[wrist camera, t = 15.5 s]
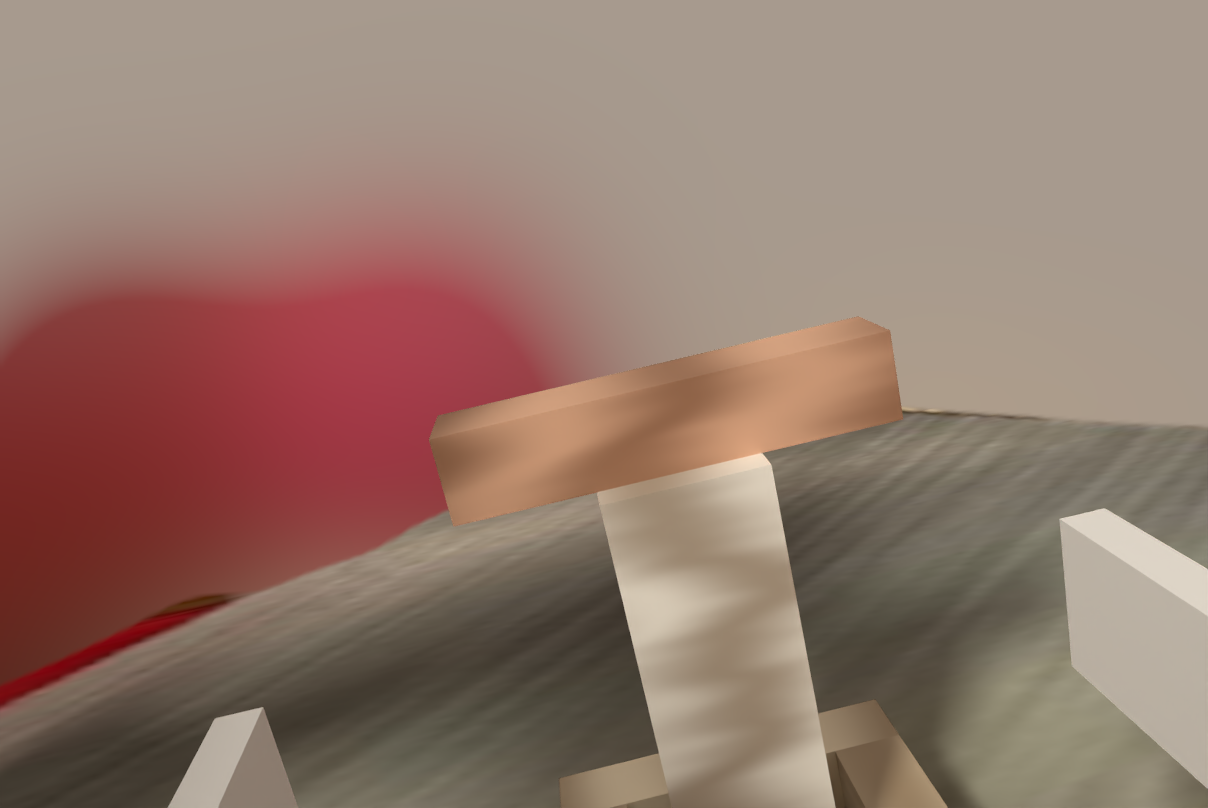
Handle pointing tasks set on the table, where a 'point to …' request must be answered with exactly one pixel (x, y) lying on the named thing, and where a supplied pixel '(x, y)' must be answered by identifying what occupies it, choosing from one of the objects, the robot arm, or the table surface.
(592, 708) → the table surface
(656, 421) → the t-key
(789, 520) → the table surface
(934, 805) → the block
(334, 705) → the table surface
